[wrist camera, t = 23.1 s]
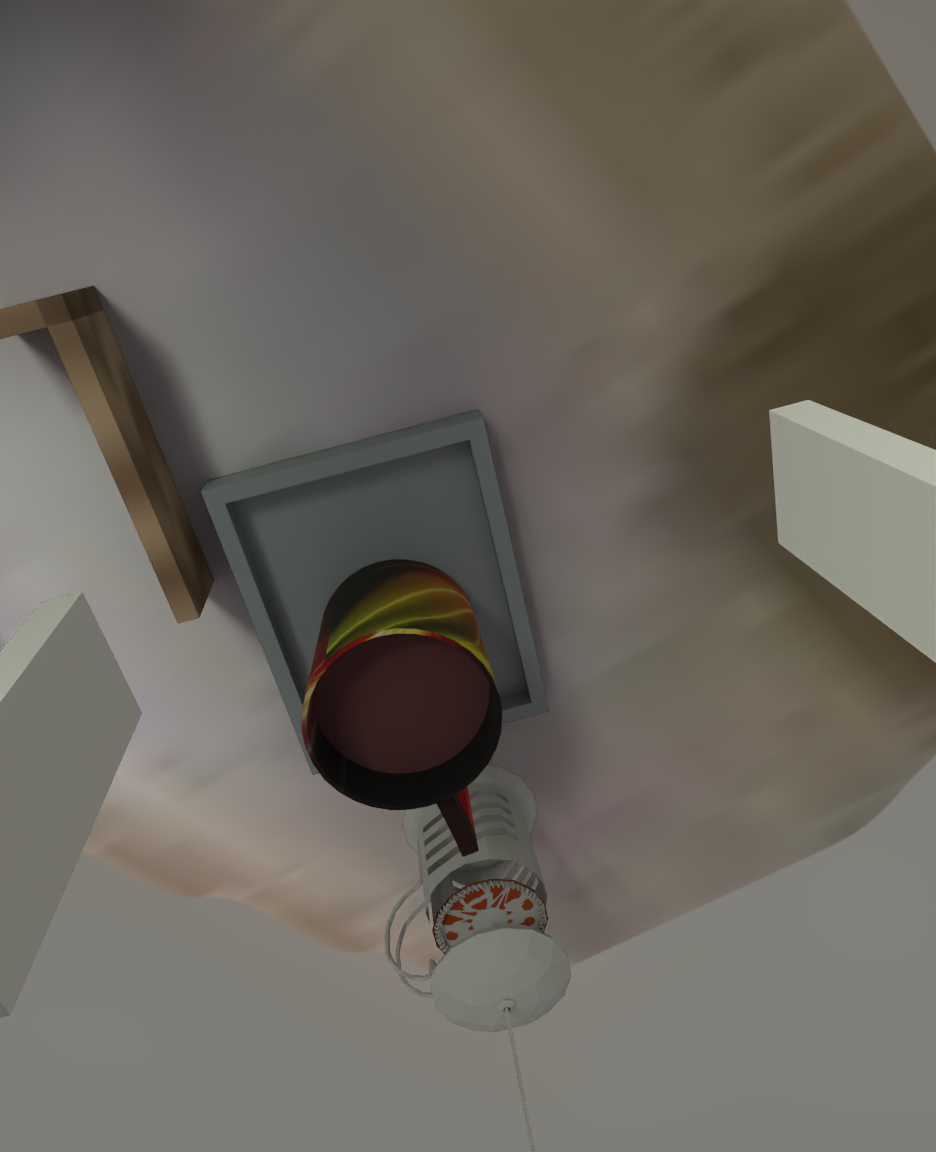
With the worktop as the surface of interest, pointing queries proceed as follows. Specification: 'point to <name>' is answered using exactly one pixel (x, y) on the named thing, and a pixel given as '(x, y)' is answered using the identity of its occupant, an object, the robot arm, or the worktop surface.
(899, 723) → the worktop surface
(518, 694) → the tray
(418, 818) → the french press
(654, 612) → the worktop surface
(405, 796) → the mug
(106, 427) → the wooden frame
